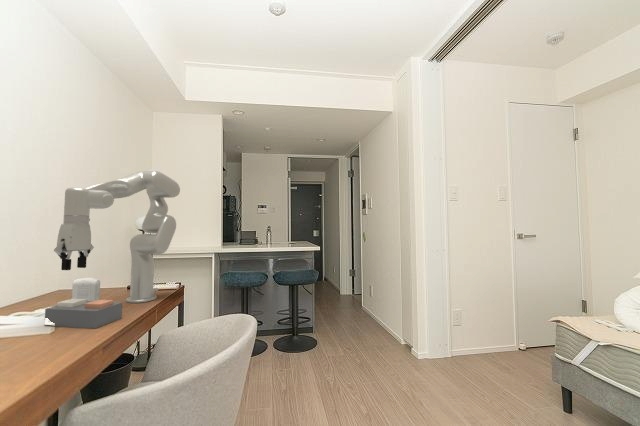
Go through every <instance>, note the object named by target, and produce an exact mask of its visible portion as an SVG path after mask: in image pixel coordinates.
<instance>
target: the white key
mask: <svg viewBox="0 0 640 426" xmlns="http://www.w3.org/2000/svg"><path fill="white" fill-rule="evenodd" d="M86 303H87V299H72V298H70V299H65V300H62V301H57V304H56V306H57V307H70V308H72V307H76V306H79V305H83V304H86Z"/></svg>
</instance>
